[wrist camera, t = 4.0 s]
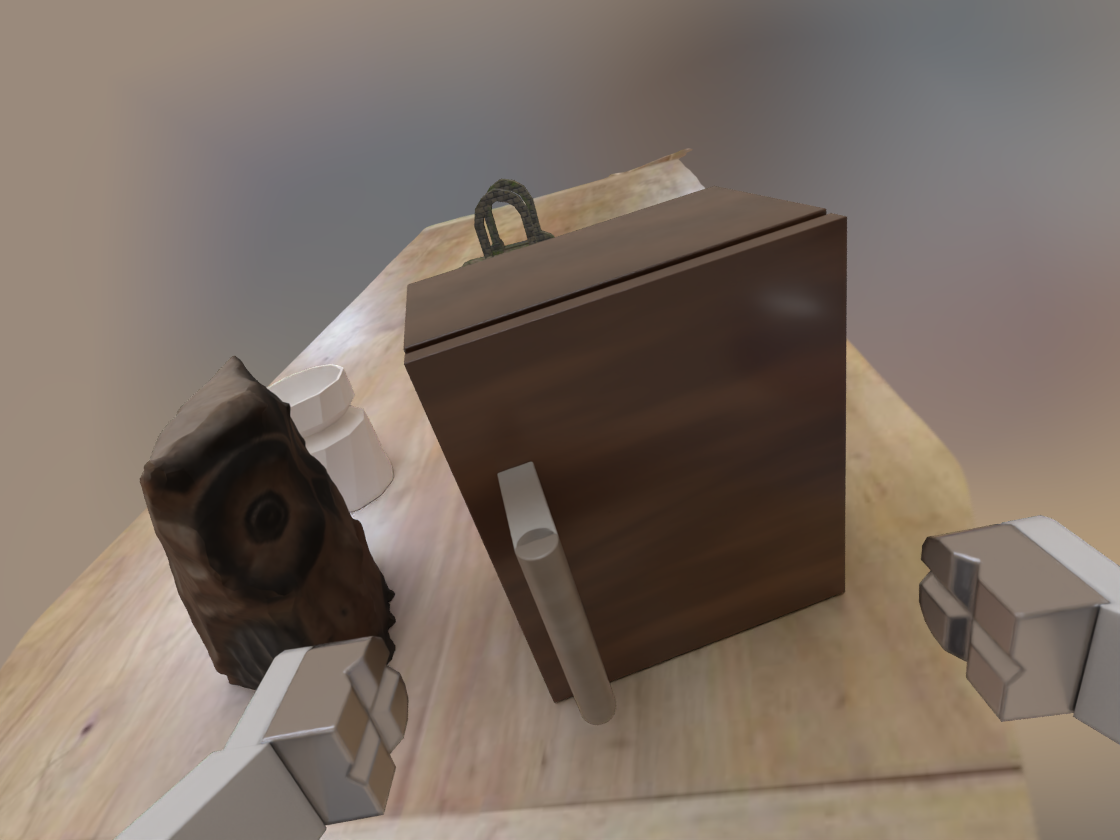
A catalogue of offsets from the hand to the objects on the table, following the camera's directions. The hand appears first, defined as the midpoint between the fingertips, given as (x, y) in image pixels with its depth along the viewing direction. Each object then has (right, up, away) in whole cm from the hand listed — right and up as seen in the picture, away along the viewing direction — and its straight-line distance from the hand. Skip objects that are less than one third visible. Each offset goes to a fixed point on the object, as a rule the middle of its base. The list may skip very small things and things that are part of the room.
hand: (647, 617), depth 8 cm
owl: (-18, -13, +32) cm, 39 cm away
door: (+7, -11, +22) cm, 25 cm away
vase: (-22, -4, +48) cm, 54 cm away
